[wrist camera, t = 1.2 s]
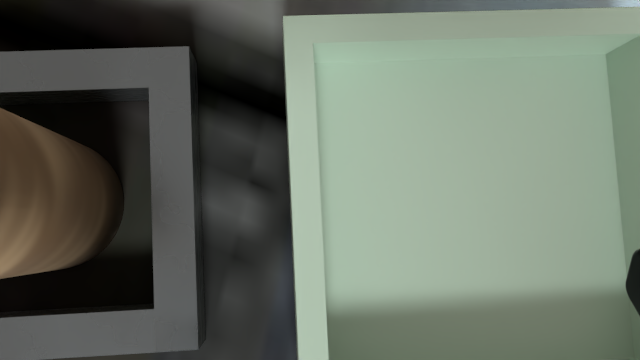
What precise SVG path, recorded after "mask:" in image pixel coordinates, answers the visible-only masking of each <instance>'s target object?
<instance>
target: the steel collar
mask: <svg viewBox="0 0 640 360" xmlns="http://www.w3.org/2000/svg"><path fill="white" fill-rule="evenodd" d="M140 100H149V121H150V161H151V201H152V241H153V282H154V303H150V304H133V305H115V306H98V307H80V308H62V309H45V310H27V311H10V312H0V360H40V359H56V358H72V357H88V356H104V355H120V354H136V353H153V352H169V351H185V350H198V349H199V348H200V347H201V345H202V344H203V343H204V341H205V340H206V335H205V304H204V273H203V242H202V211H201V180H200V149H199V118H198V87H197V62H196V60H195V58H194V56H193V54H192V52H191V50H190V48H189V46H184V47H150V48H115V49H80V50H45V51H11V52H0V105H25V104H54V103H83V102H111V101H140Z"/></svg>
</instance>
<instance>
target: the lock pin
mask: <svg viewBox="0 0 640 360" xmlns="http://www.w3.org/2000/svg"><path fill="white" fill-rule="evenodd" d="M123 210H124V197H123V190H122V186H121V183H120V180H119V178H118V176H117V174H116V172H115V170H114V169H113V167H112V166H111V165H110V163H109V162H108V161H107V160H106V159H105V158H104V157H103V156H101V155H100V154H99V153H98V152H96V151H94V150H93V149H91V148H89V147H87V146H85V145H82V144H80V143H78V142H76V141H73V140H71V139H69V138H67V137H64V136H62V135H60V134H58V133H55V132H53V131H51V130H49V129H46V128H44V127H42V126H40V125H37V124H35V123H33V122H31V121H29V120H26V119H24V118H22V117H20V116H17V115H15V114H13V113H11V112H8V111H6V110H4V109H2V108H0V279H3V278H9V277H15V276H22V275H28V274H34V273H41V272H47V271H53V270H60V269H66V268H71V267H75V266H78V265H80V264H83V263H85V262H87V261H89V260H91V259H93V258H94V257H95V256H97V255H98V254H99V253H101V252H102V251H103V250H104V249H105V248H106V247H107V246H108V244H109V243H110V242H111V241H112V239H113V238H114V236H115V234H116V232H117V230H118V228H119V226H120V223H121V220H122V216H123Z"/></svg>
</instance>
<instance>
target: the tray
mask: <svg viewBox="0 0 640 360" xmlns="http://www.w3.org/2000/svg"><path fill="white" fill-rule="evenodd" d="M283 59H284V81H285V103H286V125H287V147H288V169H289V191H290V213H291V235H292V257H293V279H294V301H295V323H296V345H297V360H640V316H639V314H638V313H637V311H636V309H635V307H634V306H633V304H632V302H631V300H630V299H629V297H628V294H627V291H626V284H625V283H626V278H627V274H628V270H629V266H630V262H631V258H632V255H633V253H634V252H635V251H636V250H637V249H640V7H612V8H574V9H535V10H496V11H457V12H418V13H379V14H340V15H302V16H283Z"/></svg>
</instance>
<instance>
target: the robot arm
mask: <svg viewBox="0 0 640 360" xmlns="http://www.w3.org/2000/svg"><path fill="white" fill-rule="evenodd" d="M625 284H626V291H627V294H628V297H629V299H630V300H631V302H632V304H633V306H634V307H635V309H636V311H637V313H638V314H639V316H640V249H637V250H636V251H635V252H634V253H633V255H632V258H631V262H630V266H629V270H628V274H627V278H626V283H625Z"/></svg>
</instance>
